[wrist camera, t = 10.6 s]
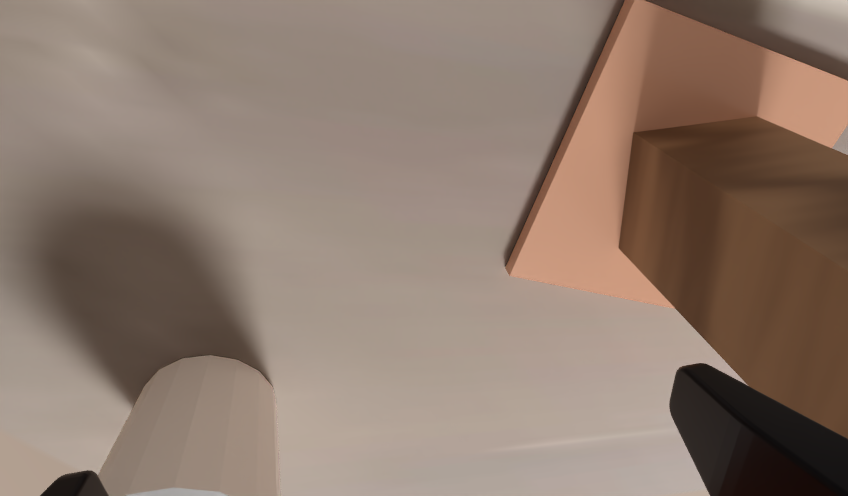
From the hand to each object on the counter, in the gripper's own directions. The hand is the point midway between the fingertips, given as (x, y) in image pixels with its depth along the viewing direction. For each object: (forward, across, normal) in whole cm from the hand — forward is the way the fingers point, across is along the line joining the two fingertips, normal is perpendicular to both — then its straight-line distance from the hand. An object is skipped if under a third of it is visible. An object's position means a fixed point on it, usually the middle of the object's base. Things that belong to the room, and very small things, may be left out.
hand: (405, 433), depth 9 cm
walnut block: (+12, -13, +3) cm, 18 cm away
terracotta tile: (+13, -13, +3) cm, 18 cm away
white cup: (+13, +8, +11) cm, 19 cm away
